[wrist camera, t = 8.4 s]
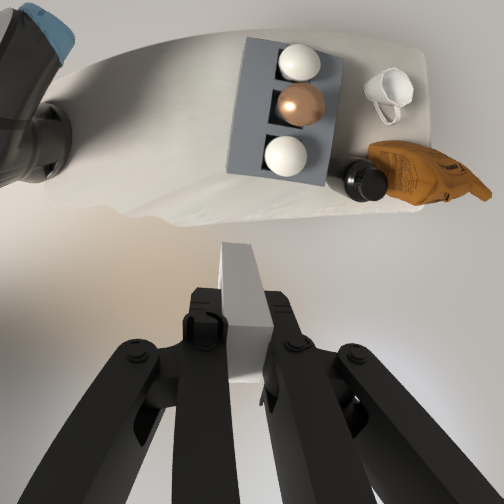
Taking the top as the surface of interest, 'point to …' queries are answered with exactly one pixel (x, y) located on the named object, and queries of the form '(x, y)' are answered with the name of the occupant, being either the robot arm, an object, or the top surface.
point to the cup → (390, 91)
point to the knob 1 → (297, 64)
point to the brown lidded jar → (300, 105)
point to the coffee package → (423, 173)
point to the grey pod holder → (265, 121)
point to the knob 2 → (285, 155)
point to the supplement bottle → (356, 178)
